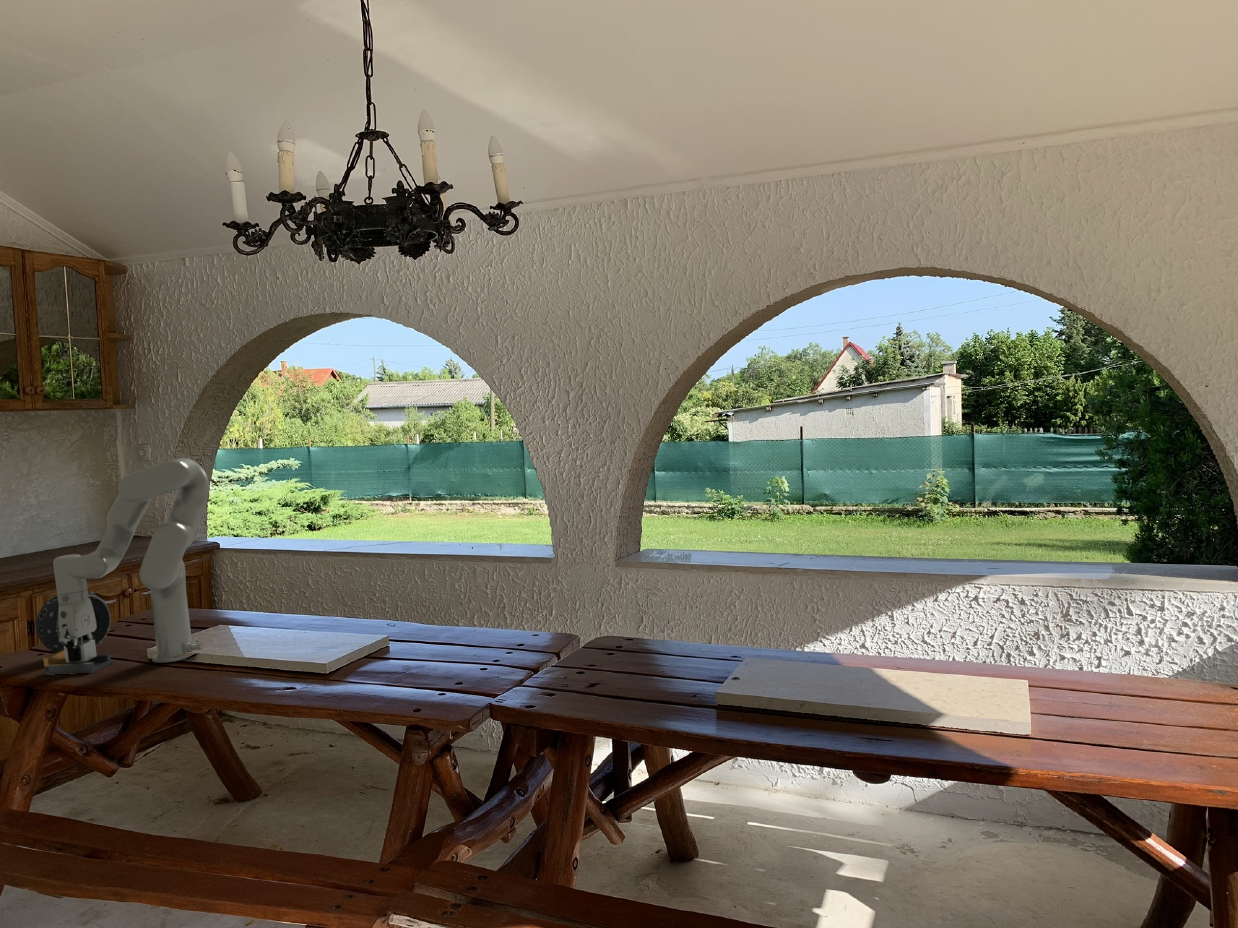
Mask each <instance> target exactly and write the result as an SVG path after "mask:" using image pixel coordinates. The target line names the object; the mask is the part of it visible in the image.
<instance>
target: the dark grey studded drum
mask: <svg viewBox="0 0 1238 928" xmlns="http://www.w3.org/2000/svg"><path fill="white" fill-rule="evenodd" d="M88 598H90V600H91V603H92V606H93V609H94V614H95V619H96V625H97V628H96V630H95V631H94V635H93V640H95V646H96V647H99V646H100V645H101V644H102V642H103V641H104V639H105V638H106V637H107V635H108V633H109V632H110V631H111V630H110V627H111V620H112V619H111V617H112V614H111V612H110V609H109V607H108V605H107V602H106V601H105V600H104V599H102V598H101V597H100V596H98V595H96V594H95V593H94V592H93V591H88ZM58 611H59V602H58V595H57V594H56V595H53V597H51V598H49V599H48V600H47V601H45V603H44V604H43V605H42V606H41V608H40V609H39V612H38V614H37V617H36V619H35V620H36V621H35V630H36V636H37V638H38V640H39V641H40V643H41V644H42V646H44V647H45V648H46V649H47V650H49V651H51V652H53V653H57V652H59V651H61V650H64V645H63V644H62V643H60V642H59V638H60V630H59V618H58ZM70 641H71V642H73V640H70ZM77 641H82V640H81V637H79V638H77Z"/></svg>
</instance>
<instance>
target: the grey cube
mask: <svg viewBox="0 0 1238 928" xmlns="http://www.w3.org/2000/svg"><path fill="white" fill-rule="evenodd" d="M72 643H73V642H72ZM77 647H79V653H80V661H78V662H85V661H88V660H90V659H92V658H94V657H96V656H97V655H98V654H97V648H96V647H97V646H95V640H82V641H77ZM64 651H65V659H66V663H69V659H68V651H67V649H66V648H65V646H64Z"/></svg>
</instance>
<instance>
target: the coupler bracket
mask: <svg viewBox="0 0 1238 928" xmlns="http://www.w3.org/2000/svg"><path fill="white" fill-rule="evenodd" d="M111 657H112V656H111V654H97V656H96V657H94V658H92V659H90V660H88V661H85V662H69V663H66V659H65V651H64V650H61V651H59V652H57V653H56V652H53V653H52V654H50V655H48V656H45V657H43V658H42V661H43V667H44V674H47V675H48V674H65V673H66V674H69V673H74V674H73V675H77V674H76V673H88V674H93V673H95V672H97V671H99V670H101V669H103V668H106V667H107V665H108V666H109V665H111V664H112V658H111Z"/></svg>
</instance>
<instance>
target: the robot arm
mask: <svg viewBox="0 0 1238 928" xmlns="http://www.w3.org/2000/svg"><path fill="white" fill-rule="evenodd" d="M177 490H178V491H177ZM117 491H118V494H117V496H116V499H115V500H114V502H113V504H112V505H111V507H110V510H109V511H108V512H107V514H106V523H107V525H106V530H105V532H104V535H103V537H102V539H101V541H100V543H99V544H98V546H97V548H96V549H95V551H92V552H91V553H88V554H84V555H81V554H77V553H76V554H75V553H74V554H66V555H61V556H57V557H56V558H54V560H53V562H52V564H53V572H54V580H55V585H56V586H55V587H56V588H55V589H56V593H57V594H56V595H58V602H59V611H58V618H59V630H60V638H59V642H60V643H62V644H63V645H64V646H65V648H66V649H67V651H68V659H69V662H78V661H80V653H79V647H77V638H79V637H81V640H93V635H94V631H95V630H96V628H97V625H96V619H95V614H94V609H93V606H92V603H91V600H90V598H88V592H89V591H88V583H87V580H95V579H96V580H97V579H101V578H103V577H105V576H106V575H108V574H109V573H111V572H113V571H114V570H116V568H118V566H119V565H120V562H121V561H122V559H123V558H124V556H125V554H126V552H127V551H128V548H129V547H130V544H131V542H132V540H133V537H134V535H135V533H136V532H137V527H138V525H139V524H140V522H141V520H142V518H143V516H144V515H145V513H146V511H147V509H148V507H150V504H151V502H152V500H153V498H156V497H159V496H163V495H165V494H167V493H170V492H173V491H177V495H176V496H175V499H174V501H173V504H172V506H171V509H170V512H169V514H168V517H167V519H166V521H165V522H164V523H161V525H159V526H158V527H157V528H156V530H155V531H154V532H153V535H152V537H151V540H150V542H149V545H148V548H147V550H146V553H145V555H144V558H143V560H142V563H141V566H140V569H139V579H140V581H141V583H142V585H143V586H144V587H146V588H147V589H149V590H150V603H151V604H150V605H151V611H152V619H153V620H152V621H153V626H154V636H155V644H156V653H155V654H154V655H152V656H151V660H152V662H153V663H157V664H158V663H161V664H162V663H174V662H178V661H179V662H180V661H183V660H186V656H184V655H183V656H182V653H183V654H186V653H187V652H192V651H193V650H199V651H203V650H204V647H205V643H204V642H196V638H194V637H193V638H192V632H191V623H190V613H189V606H188V597H187V596H188V595H187V583H186V582H187V580H186V574H187V573H186V565H185V563H184V561H183V559H184V558H183V557H184V555H185V552H186V550H187V549H188V548H189V547H190V546H191V545H192V544H193V542H194V541H195V536H196V534H197V531H198V528H199V525H200V522H201V519H202V517H203V514H204V510H205V507H206V505H207V503H208V499H209V495H210V481H209V477H208V474H207V473H206V471H205V469H204V467H202V466H201V465H200V464H199V463H198V462H196V461H195V460H193V459H191V458H186V457H180V458H179V457H178V458H175V459H170V460H167V461H165V462H163V463H159V464H156V465H154V466H153V465H152V466H150V467H147V468H145V469H142V470H138V471H135V472H131V473H128V474H126V475H124V476H123V477H122V478H121V480H120V481H119V483H118V486H117ZM70 640H73V643H72V642H71V641H70Z"/></svg>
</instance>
